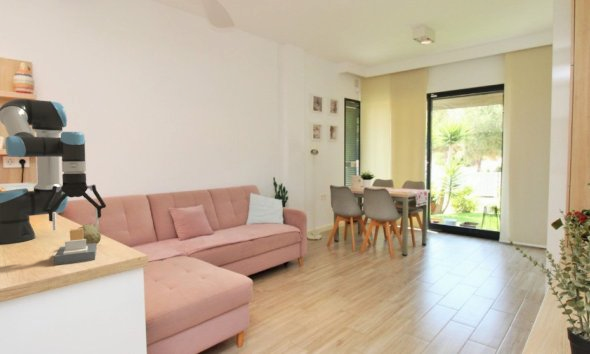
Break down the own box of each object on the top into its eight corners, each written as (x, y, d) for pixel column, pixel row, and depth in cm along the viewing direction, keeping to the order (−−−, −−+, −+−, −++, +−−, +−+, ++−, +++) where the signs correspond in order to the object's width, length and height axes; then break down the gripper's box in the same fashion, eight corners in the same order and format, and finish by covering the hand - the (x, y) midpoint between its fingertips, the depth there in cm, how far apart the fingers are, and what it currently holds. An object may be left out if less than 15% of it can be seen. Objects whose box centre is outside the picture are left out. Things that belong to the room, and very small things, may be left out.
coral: (109, 227, 147) (89, 222, 139) (100, 250, 144) (79, 246, 136) (94, 224, 151) (74, 219, 142) (85, 246, 148) (64, 242, 139)
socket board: (60, 254, 130) (60, 246, 130) (96, 250, 136) (96, 242, 136) (54, 264, 117) (54, 256, 117) (94, 259, 123) (94, 251, 123)
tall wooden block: (71, 257, 127) (69, 231, 126) (72, 254, 130) (70, 229, 130) (83, 255, 129) (82, 229, 128) (84, 253, 132) (83, 228, 132)
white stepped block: (65, 250, 125) (65, 239, 125) (87, 247, 128) (87, 237, 128) (63, 254, 119) (62, 243, 119) (86, 252, 122) (86, 241, 122)
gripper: (31, 174, 118) (33, 233, 120) (111, 172, 130) (113, 226, 132) (35, 172, 125) (37, 229, 127) (111, 171, 137) (113, 222, 138)
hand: (76, 227), depth 129 cm, fingers open, 13 cm apart
